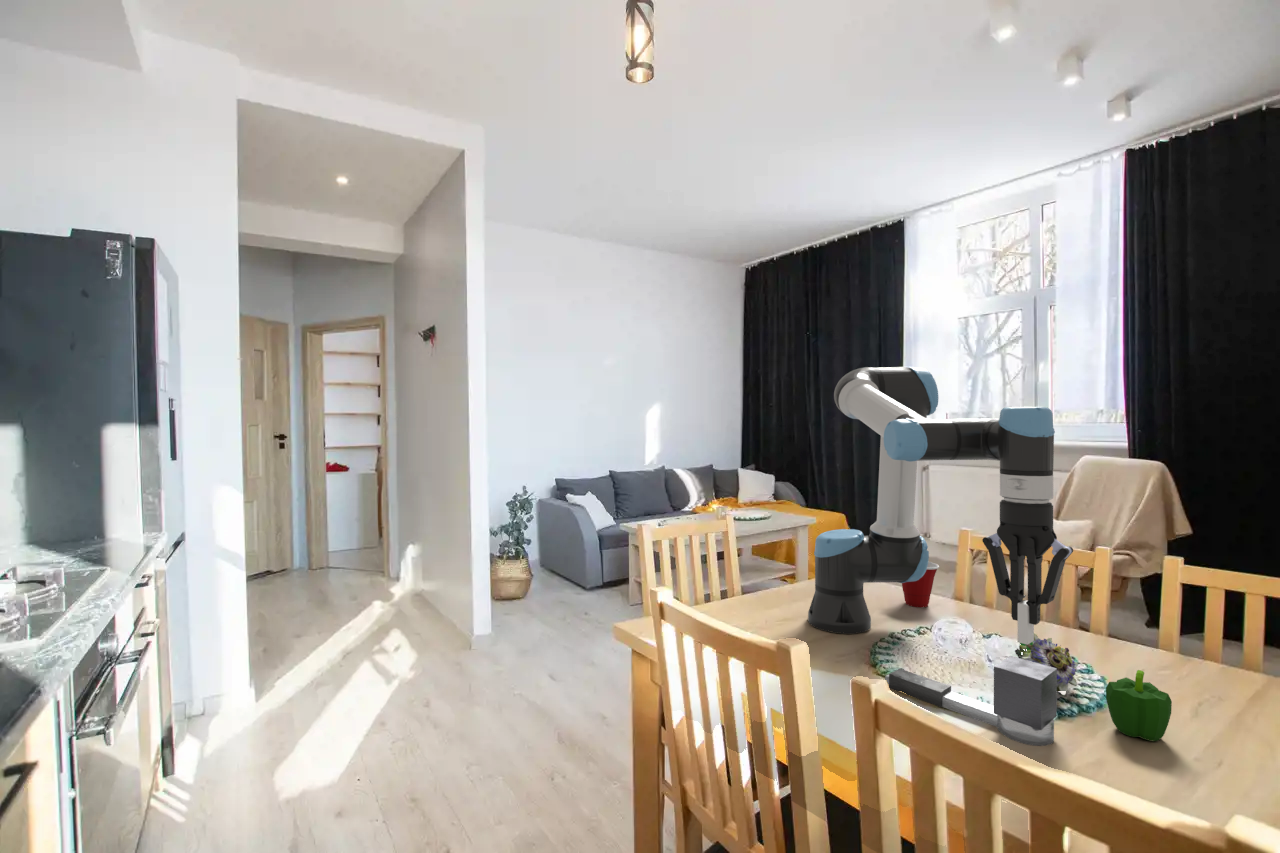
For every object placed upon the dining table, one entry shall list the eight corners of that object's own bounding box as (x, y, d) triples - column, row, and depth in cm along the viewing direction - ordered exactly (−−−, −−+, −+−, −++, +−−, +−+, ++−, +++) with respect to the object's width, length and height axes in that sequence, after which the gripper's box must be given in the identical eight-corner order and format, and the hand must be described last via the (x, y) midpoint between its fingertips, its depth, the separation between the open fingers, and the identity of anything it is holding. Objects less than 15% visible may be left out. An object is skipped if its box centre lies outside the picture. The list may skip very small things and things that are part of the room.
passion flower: (1060, 722, 116) (1052, 683, 110) (1004, 689, 125) (993, 652, 120) (1093, 680, 119) (1086, 641, 114) (1035, 651, 128) (1026, 614, 123)
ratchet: (878, 689, 118) (878, 653, 118) (900, 677, 123) (900, 643, 123) (1043, 751, 96) (1043, 707, 96) (1061, 734, 101) (1061, 692, 101)
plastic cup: (946, 610, 164) (946, 566, 164) (906, 610, 164) (906, 566, 164) (928, 598, 175) (928, 556, 174) (890, 598, 175) (890, 556, 175)
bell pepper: (1153, 752, 96) (1153, 689, 95) (1096, 727, 103) (1096, 669, 103) (1183, 740, 99) (1183, 679, 99) (1125, 717, 107) (1126, 660, 106)
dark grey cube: (993, 713, 102) (993, 666, 102) (1010, 700, 107) (1010, 655, 106) (1041, 730, 97) (1041, 680, 97) (1056, 716, 101) (1057, 668, 101)
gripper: (974, 498, 104) (974, 635, 104) (1063, 506, 93) (1063, 659, 94) (993, 494, 108) (993, 626, 109) (1080, 501, 98) (1079, 647, 99)
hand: (1025, 641), depth 101 cm, fingers closed
